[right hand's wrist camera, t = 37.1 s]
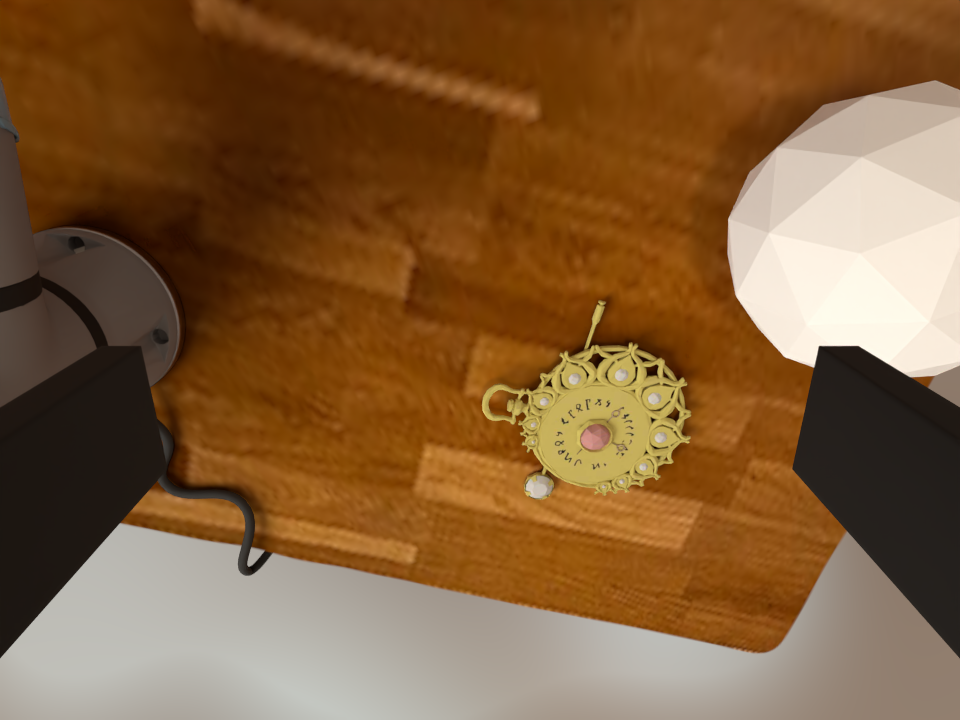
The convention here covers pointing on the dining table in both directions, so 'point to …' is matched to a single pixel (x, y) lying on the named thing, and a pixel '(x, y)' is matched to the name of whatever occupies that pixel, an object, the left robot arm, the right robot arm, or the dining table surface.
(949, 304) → the sphere
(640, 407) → the decorative object
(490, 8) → the dining table surface
